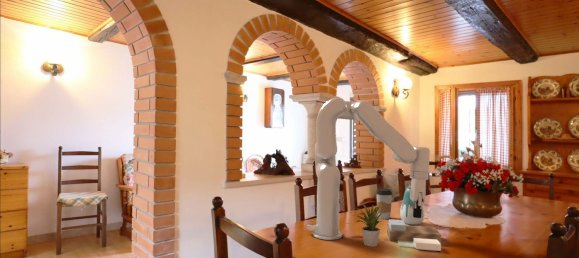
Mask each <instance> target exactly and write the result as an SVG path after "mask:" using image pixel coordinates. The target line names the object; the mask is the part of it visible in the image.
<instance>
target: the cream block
mask: <svg viewBox="0 0 579 258" xmlns="http://www.w3.org/2000/svg"><path fill="white" fill-rule="evenodd" d="M413 244H414V246H415V248H414V249H415V250H423V251H425V250H426V251H436V252H437V251H440V252H441V251H442V243H441V244H440V242H439V241H438V240H436V239H421V238H414V243H413Z"/></svg>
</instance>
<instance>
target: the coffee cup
mask: <svg viewBox="0 0 579 258" xmlns="http://www.w3.org/2000/svg"><path fill="white" fill-rule="evenodd" d="M375 194H376V207H377V206H380V205H382V206H380V208H379V210H380V209H381V210H380V212H379V210H378V212H379V214H380V213H381V212H382V214H381V216H380V217H379V220H389V219H390V218H391V214H392V213H391V212H392V201H393V198H392V197H393V192H392V189H389V188H377V189H376V193H375ZM381 207H382V208H381ZM383 209H384V210H383ZM382 210H383V211H382ZM378 212H377V213H378ZM383 212H384V213H383ZM379 214H378V216H379ZM378 216H377V217H378Z"/></svg>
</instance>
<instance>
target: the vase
mask: <svg viewBox="0 0 579 258" xmlns="http://www.w3.org/2000/svg"><path fill="white" fill-rule="evenodd" d="M410 190H411V186H408V187H406V189H405V191H404V194H403V199H402V201H401V206H400V209H399V216H400V220H403V221H404V223H405V225H410V226H419V225H421V223H423V221H424V219H425V208H424V204H423V203H422V214H421V218H414V217H413V208H414V202H413V201H412V200H411V199H410Z"/></svg>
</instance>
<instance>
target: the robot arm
mask: <svg viewBox="0 0 579 258" xmlns="http://www.w3.org/2000/svg"><path fill="white" fill-rule="evenodd" d="M338 120H348V121H351V120H352V121H359V122H360V124H362V126H364V128H365V129H366V130H367V131H368V132H369V133H370V134H371V135H372V137H373V138H375V139H376V140H377V141H380V142H381V143H383V144H384V145H386V146H388V148H389V149H390V150H391V157H392V158H393V160H394V161H395V162H397V163H403V164H406V165H407V164H410V167H409V178H410V179H411V182H410V187H411V190H410V199H411V200H412V201H413V202H414V208H413V217H414V218H421V214H422V204H423V203H425V202H426V191H427V190H426V188H427V187H426V186H427V181H429V171H430V170H429V169H430V155H431V154H430V151H431V150H430V148H429V147H427V146H425V147H424V146H413V145H412V144H411V143H410V142H409V140H408V139H407V138H406V137H405V136H404V135H403V134H401V132H399V131H398V130H397V129H396V128H395V127H394V126H393V125H391V124H390V123H389V122H388V121H387V120H386V119H385V118H384V117H383V116H382V115H381V113H379V111H378V110H377V109H376V108H375V107H374V105H373V104H371V103H370V101H368V100H365V99H362V100H358V101H348V100H344V98H342V97H338V96H337V97H332V98H331V99H329V100H328V101H326V102H325V103H324V104H323V105H322V106H321V107H320V109H319V111H318V113H317V116H316V121H315V134H316V135H315V137H316V142H315V144H314V163H315V164H314V165H315V174H316V177H317V188H316V223H315V224H313V225H312V224H306V230H308V231H313V232H312V236H313V237H315V238H316V239H318V240H319V239H320V240H326V241H334V240H340V239H341V238H342V237H343V233H342V232H341V231H339V230H340V229H339V227H340V226H339V225H340V224H339V223H340V186H341V172H340V169H339V167H338V166H337V161H336V155H337V153H338V145H337V131H336V130H337V128H336V126H337V121H338Z"/></svg>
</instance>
